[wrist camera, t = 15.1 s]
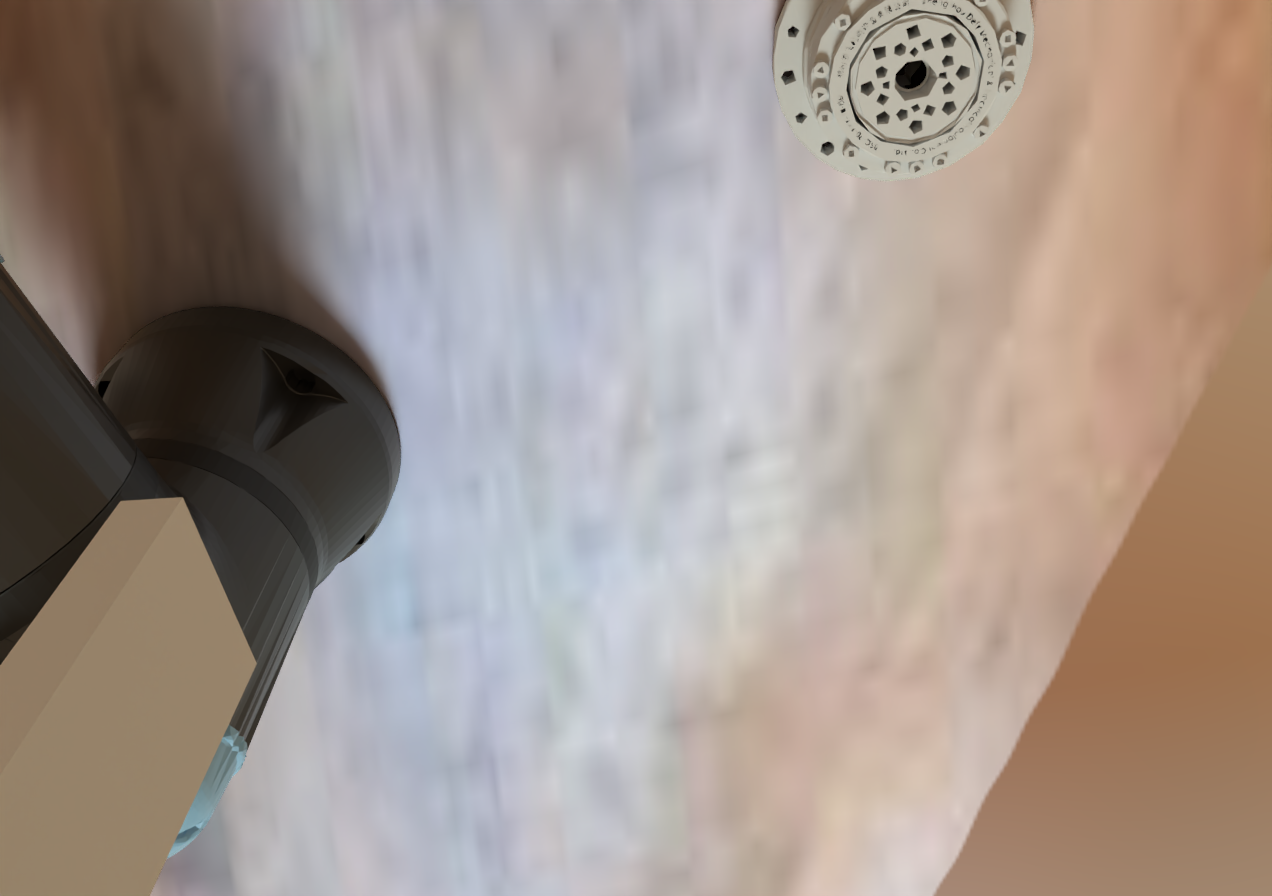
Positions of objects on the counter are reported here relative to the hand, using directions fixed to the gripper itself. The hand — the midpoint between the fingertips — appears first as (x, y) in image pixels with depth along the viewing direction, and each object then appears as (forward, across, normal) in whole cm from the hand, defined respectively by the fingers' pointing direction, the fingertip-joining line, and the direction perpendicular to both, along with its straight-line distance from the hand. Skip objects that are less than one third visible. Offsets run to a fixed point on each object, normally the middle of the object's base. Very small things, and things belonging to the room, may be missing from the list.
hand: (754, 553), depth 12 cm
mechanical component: (+35, +7, -4) cm, 36 cm away
